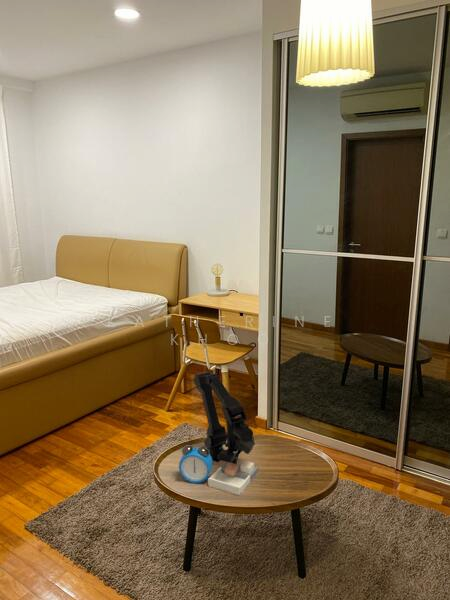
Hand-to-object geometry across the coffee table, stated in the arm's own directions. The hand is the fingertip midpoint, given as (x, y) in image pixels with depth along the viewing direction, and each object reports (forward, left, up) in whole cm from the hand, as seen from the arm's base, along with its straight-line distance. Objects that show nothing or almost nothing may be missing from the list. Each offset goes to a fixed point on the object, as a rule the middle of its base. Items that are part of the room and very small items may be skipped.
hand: (234, 465), depth 193 cm
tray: (+1, -7, -4) cm, 8 cm away
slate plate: (+1, +2, -4) cm, 4 cm away
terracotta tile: (0, -2, -1) cm, 3 cm away
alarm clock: (-13, -11, -4) cm, 17 cm away
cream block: (+5, +2, -1) cm, 5 cm away
